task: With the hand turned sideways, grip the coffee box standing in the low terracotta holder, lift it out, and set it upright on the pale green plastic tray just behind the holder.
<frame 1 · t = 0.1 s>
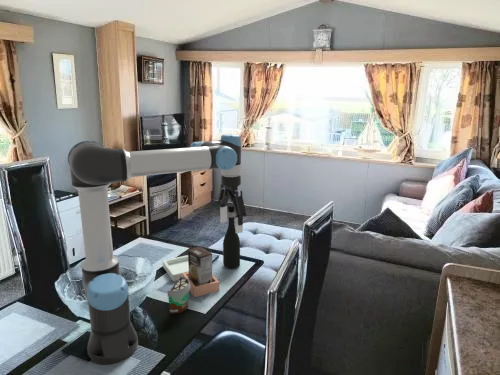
hand: (231, 227, 143), 28 cm above the table, tool pointing down, fingers open, 13 cm apart
wine bottle: (231, 266, 172), on the table
food container: (182, 307, 138), on the table
coffee box: (200, 286, 153), resting in holder
tray: (186, 269, 168), on the table
holder: (200, 286, 153), on the table
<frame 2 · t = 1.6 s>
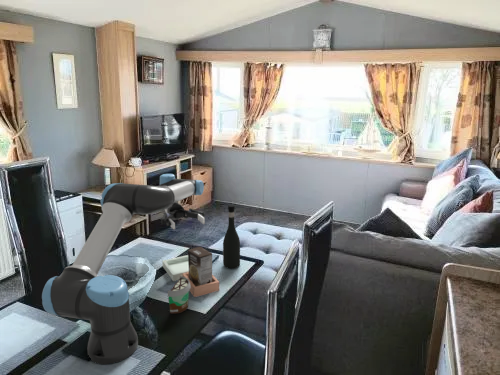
hand: (189, 223, 157), 24 cm above the table, tool horizontal, fingers open, 13 cm apart
nothing on the table moved.
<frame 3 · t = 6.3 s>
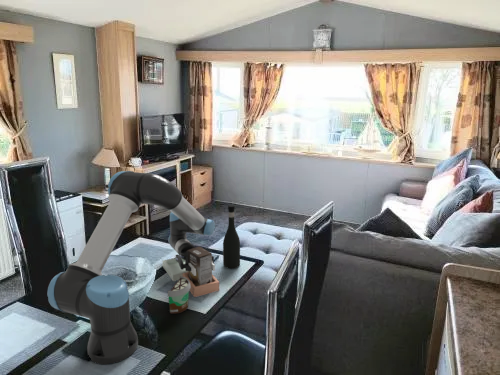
hand: (204, 270, 147), 10 cm above the table, tool horizontal, fingers closed on coffee box, 8 cm apart
coffee box: (200, 286, 153), resting in holder, touching gripper
everything else where it was.
when the fingers open (12 cm above the table, at t = 12.2 s): coffee box drops 1 cm, resting on tray.
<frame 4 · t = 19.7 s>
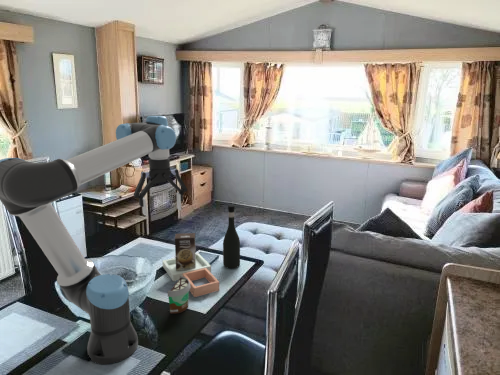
hand: (162, 211, 140), 35 cm above the table, tool pointing down, fingers open, 13 cm apart
coffee box: (186, 268, 167), point 1 cm above the table, touching tray
everything else where it was.
at the end: coffee box inside the target area on the tray (0.6 cm from its centre), point 0.8 cm above the tray's base; coffee box tilted 0°; the gripper is holding nothing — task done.
